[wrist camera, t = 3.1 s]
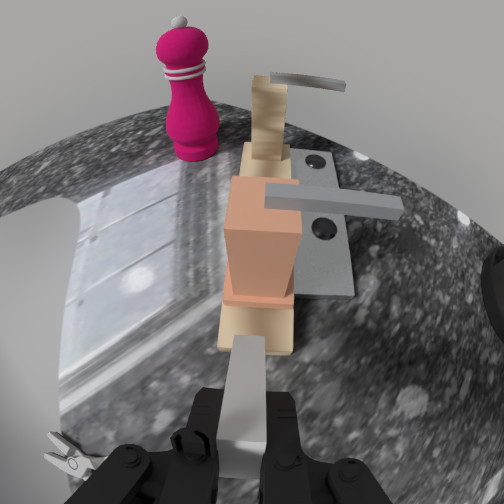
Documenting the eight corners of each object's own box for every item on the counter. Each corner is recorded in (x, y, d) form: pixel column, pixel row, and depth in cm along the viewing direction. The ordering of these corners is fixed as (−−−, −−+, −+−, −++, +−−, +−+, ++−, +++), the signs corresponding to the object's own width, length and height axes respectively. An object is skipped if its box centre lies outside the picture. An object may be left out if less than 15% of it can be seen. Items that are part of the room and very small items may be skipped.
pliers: (175, 550, 11) (41, 478, 12) (179, 543, 12) (49, 477, 13) (195, 472, 16) (52, 404, 17) (198, 468, 17) (61, 405, 19)
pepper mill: (175, 170, 34) (145, 26, 17) (169, 141, 38) (146, 20, 21) (227, 157, 35) (218, 13, 18) (215, 130, 39) (205, 9, 22)
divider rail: (323, 159, 36) (341, 76, 24) (344, 355, 22) (424, 303, 11) (244, 153, 36) (243, 67, 25) (220, 351, 22) (188, 294, 11)
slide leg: (346, 260, 24) (391, 174, 15) (350, 311, 22) (413, 239, 12) (230, 253, 25) (219, 157, 15) (224, 305, 22) (204, 224, 13)
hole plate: (329, 157, 36) (331, 151, 35) (351, 299, 25) (355, 295, 24) (288, 153, 36) (288, 147, 35) (290, 297, 25) (292, 292, 24)
